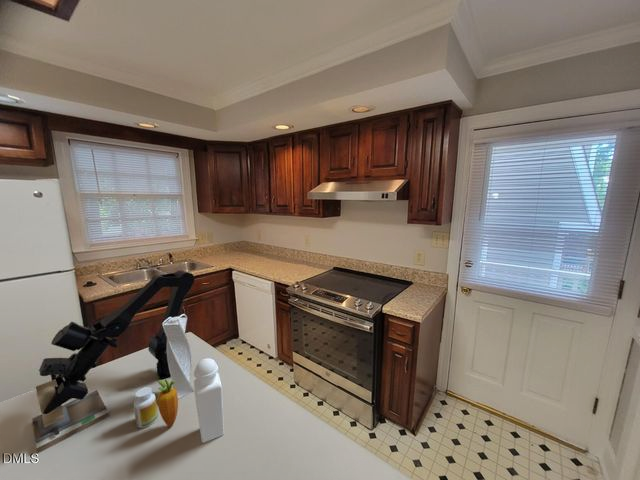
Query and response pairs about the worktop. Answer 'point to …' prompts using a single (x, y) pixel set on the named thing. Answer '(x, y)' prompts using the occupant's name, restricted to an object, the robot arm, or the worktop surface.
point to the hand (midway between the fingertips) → (44, 409)
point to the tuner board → (73, 420)
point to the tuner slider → (56, 416)
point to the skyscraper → (178, 354)
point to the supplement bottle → (145, 407)
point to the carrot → (168, 402)
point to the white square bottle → (209, 399)
